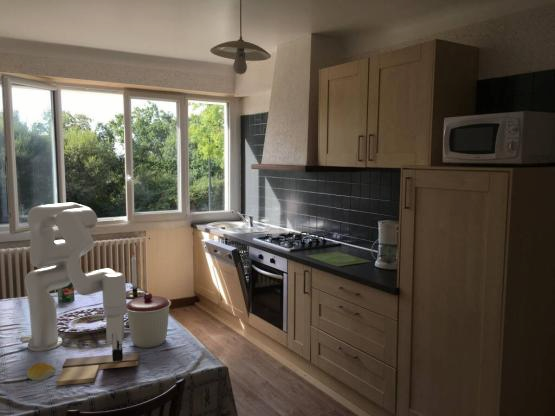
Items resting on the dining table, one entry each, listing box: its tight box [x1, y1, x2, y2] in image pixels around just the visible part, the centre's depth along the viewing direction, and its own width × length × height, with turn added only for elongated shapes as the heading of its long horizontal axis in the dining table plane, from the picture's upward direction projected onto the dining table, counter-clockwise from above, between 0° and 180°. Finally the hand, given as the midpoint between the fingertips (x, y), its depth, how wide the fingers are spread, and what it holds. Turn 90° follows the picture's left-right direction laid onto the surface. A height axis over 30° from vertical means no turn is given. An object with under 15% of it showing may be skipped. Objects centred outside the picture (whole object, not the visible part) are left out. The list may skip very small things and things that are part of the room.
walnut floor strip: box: [62, 352, 140, 369], centre depth 173 cm, size 26×6×2 cm, turn 102°
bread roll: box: [26, 362, 56, 381], centre depth 164 cm, size 8×9×4 cm
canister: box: [126, 292, 172, 349], centre depth 190 cm, size 18×18×21 cm
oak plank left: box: [55, 365, 100, 387], centre depth 163 cm, size 12×10×2 cm
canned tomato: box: [56, 282, 76, 304], centre depth 242 cm, size 8×8×11 cm
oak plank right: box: [99, 361, 139, 370], centre depth 166 cm, size 12×10×2 cm
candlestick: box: [125, 249, 149, 328], centre depth 209 cm, size 11×11×35 cm
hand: (117, 359), depth 162 cm, fingers closed
